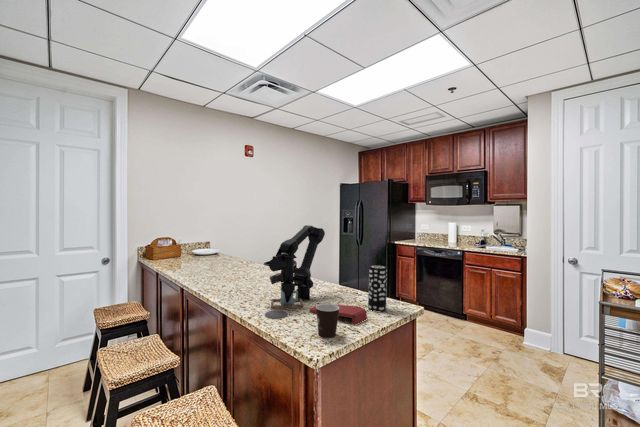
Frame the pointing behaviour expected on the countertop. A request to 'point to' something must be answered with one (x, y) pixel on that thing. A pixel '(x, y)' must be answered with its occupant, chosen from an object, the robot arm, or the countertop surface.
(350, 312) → the carton
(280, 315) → the coaster
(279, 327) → the countertop surface
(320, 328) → the coffee mug
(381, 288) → the spotted tube
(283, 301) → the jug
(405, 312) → the countertop surface
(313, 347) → the countertop surface
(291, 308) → the brown wooden frame
